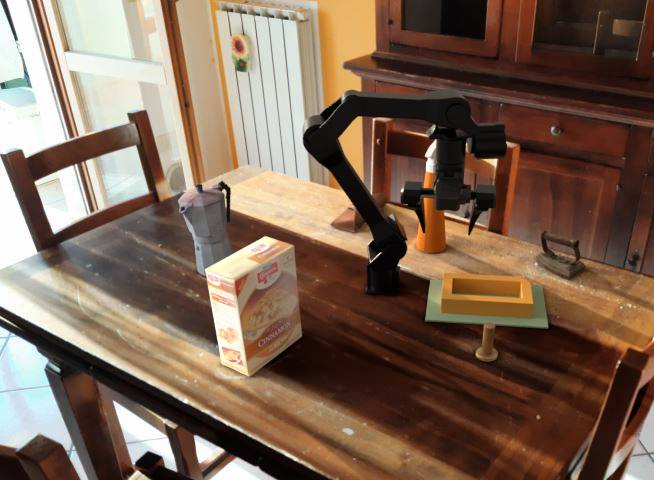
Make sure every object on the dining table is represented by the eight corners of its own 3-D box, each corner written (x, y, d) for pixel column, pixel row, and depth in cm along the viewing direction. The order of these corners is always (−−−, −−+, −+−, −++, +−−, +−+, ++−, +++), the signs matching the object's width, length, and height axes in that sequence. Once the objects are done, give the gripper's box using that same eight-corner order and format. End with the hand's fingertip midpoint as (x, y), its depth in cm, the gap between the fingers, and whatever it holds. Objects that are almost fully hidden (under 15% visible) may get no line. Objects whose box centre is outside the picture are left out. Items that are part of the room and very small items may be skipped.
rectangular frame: (440, 313, 131) (441, 298, 129) (442, 286, 139) (443, 272, 137) (531, 318, 129) (533, 303, 127) (528, 291, 138) (530, 277, 136)
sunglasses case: (359, 199, 177) (370, 181, 173) (379, 215, 178) (391, 197, 173) (328, 225, 164) (339, 206, 159) (350, 242, 164) (361, 224, 160)
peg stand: (475, 361, 118) (478, 330, 114) (475, 348, 122) (478, 318, 118) (497, 362, 118) (501, 332, 114) (497, 349, 121) (500, 319, 117)
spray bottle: (458, 239, 159) (465, 131, 144) (436, 256, 152) (441, 144, 137) (433, 232, 162) (437, 125, 148) (410, 248, 155) (412, 138, 140)
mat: (425, 321, 129) (425, 319, 129) (430, 281, 142) (430, 279, 142) (548, 328, 127) (548, 327, 127) (541, 287, 140) (542, 285, 140)
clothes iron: (572, 282, 143) (567, 241, 138) (528, 276, 150) (522, 236, 146) (588, 268, 147) (584, 227, 142) (545, 263, 154) (539, 223, 150)
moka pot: (178, 278, 142) (159, 191, 131) (219, 248, 154) (206, 166, 143) (215, 286, 139) (199, 199, 128) (254, 255, 151) (243, 172, 140)
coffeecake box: (249, 377, 114) (234, 280, 103) (220, 364, 117) (202, 268, 106) (304, 336, 124) (295, 244, 113) (275, 325, 127) (264, 234, 116)
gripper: (397, 172, 120) (397, 249, 128) (500, 177, 118) (492, 254, 127) (403, 152, 129) (402, 225, 138) (498, 156, 127) (491, 229, 136)
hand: (446, 233), depth 134 cm, fingers open, 9 cm apart
